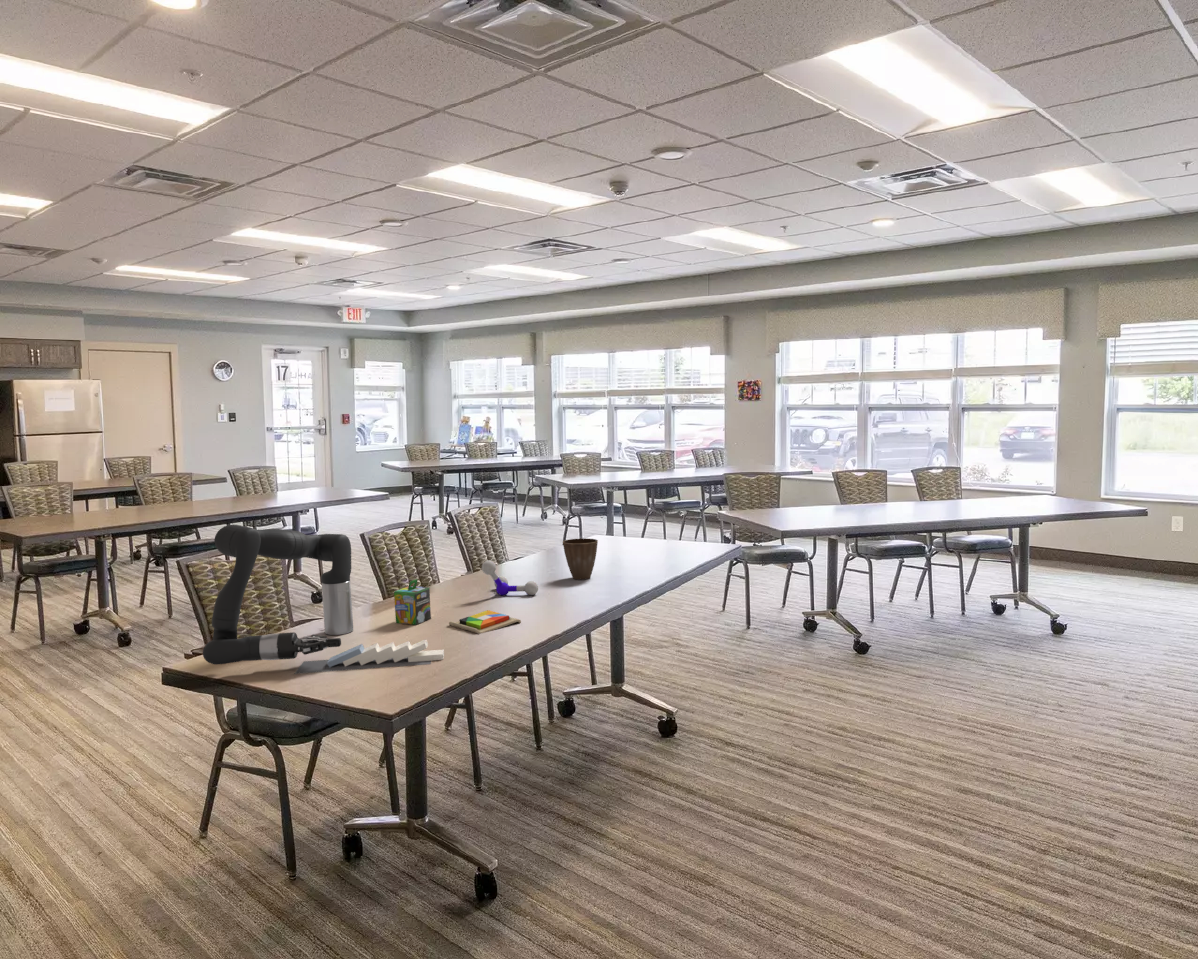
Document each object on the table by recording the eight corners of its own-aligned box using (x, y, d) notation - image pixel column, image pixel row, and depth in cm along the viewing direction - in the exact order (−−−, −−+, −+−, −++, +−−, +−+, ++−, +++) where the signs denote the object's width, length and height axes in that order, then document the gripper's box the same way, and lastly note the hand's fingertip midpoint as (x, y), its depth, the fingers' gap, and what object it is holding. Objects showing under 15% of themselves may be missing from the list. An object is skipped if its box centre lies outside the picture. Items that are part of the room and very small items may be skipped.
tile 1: (326, 662, 244) (359, 648, 244) (330, 657, 249) (362, 643, 249) (329, 667, 244) (361, 653, 245) (332, 662, 249) (364, 648, 250)
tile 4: (375, 659, 245) (407, 645, 246) (377, 654, 250) (409, 640, 251) (377, 664, 245) (409, 650, 246) (379, 659, 250) (411, 645, 251)
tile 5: (392, 657, 246) (424, 643, 247) (394, 652, 251) (425, 638, 252) (394, 662, 246) (426, 648, 247) (396, 657, 251) (428, 643, 252)
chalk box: (410, 617, 303) (408, 576, 301) (432, 619, 299) (429, 577, 298) (394, 623, 294) (392, 581, 293) (416, 625, 290) (414, 583, 289)
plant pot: (561, 575, 367) (560, 539, 365) (595, 573, 369) (594, 537, 368) (566, 582, 352) (565, 544, 351) (602, 580, 355) (600, 542, 353)
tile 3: (358, 660, 245) (391, 646, 245) (361, 655, 250) (393, 641, 250) (361, 665, 245) (393, 651, 246) (363, 660, 250) (395, 646, 251)
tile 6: (408, 656, 246) (442, 654, 248) (409, 651, 251) (443, 649, 252) (408, 662, 246) (443, 659, 248) (410, 657, 251) (444, 654, 253)
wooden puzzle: (447, 627, 289) (446, 617, 288) (492, 616, 302) (491, 606, 301) (477, 635, 276) (477, 625, 276) (522, 624, 289) (522, 614, 289)
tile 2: (342, 661, 244) (375, 647, 245) (345, 656, 249) (377, 642, 250) (345, 666, 244) (377, 652, 245) (348, 661, 249) (379, 647, 250)
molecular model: (533, 600, 323) (531, 561, 322) (481, 600, 326) (479, 561, 325) (545, 587, 344) (544, 551, 343) (496, 588, 347) (495, 552, 346)
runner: (294, 675, 239) (294, 673, 239) (303, 662, 251) (303, 661, 251) (430, 665, 244) (430, 664, 244) (433, 653, 256) (433, 652, 256)
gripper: (285, 652, 251) (345, 648, 253) (273, 665, 238) (337, 661, 240) (283, 627, 250) (343, 623, 252) (272, 639, 237) (335, 635, 239)
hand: (340, 642), depth 246 cm, fingers closed
